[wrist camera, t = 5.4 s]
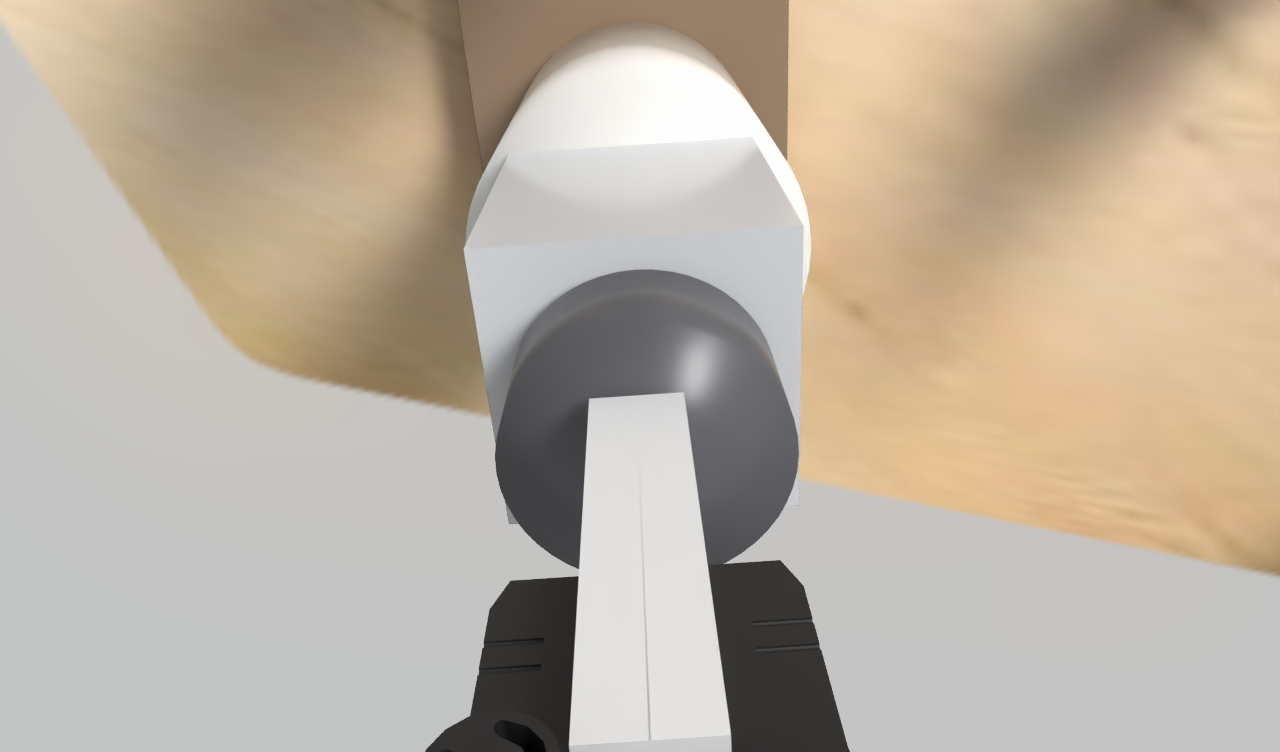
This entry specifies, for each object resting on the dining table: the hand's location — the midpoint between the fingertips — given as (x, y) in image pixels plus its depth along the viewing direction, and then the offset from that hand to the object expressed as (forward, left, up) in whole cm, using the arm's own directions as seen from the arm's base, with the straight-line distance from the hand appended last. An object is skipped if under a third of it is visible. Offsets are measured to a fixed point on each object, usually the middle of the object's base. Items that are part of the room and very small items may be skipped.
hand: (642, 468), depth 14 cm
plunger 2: (0, 0, -10) cm, 10 cm away
